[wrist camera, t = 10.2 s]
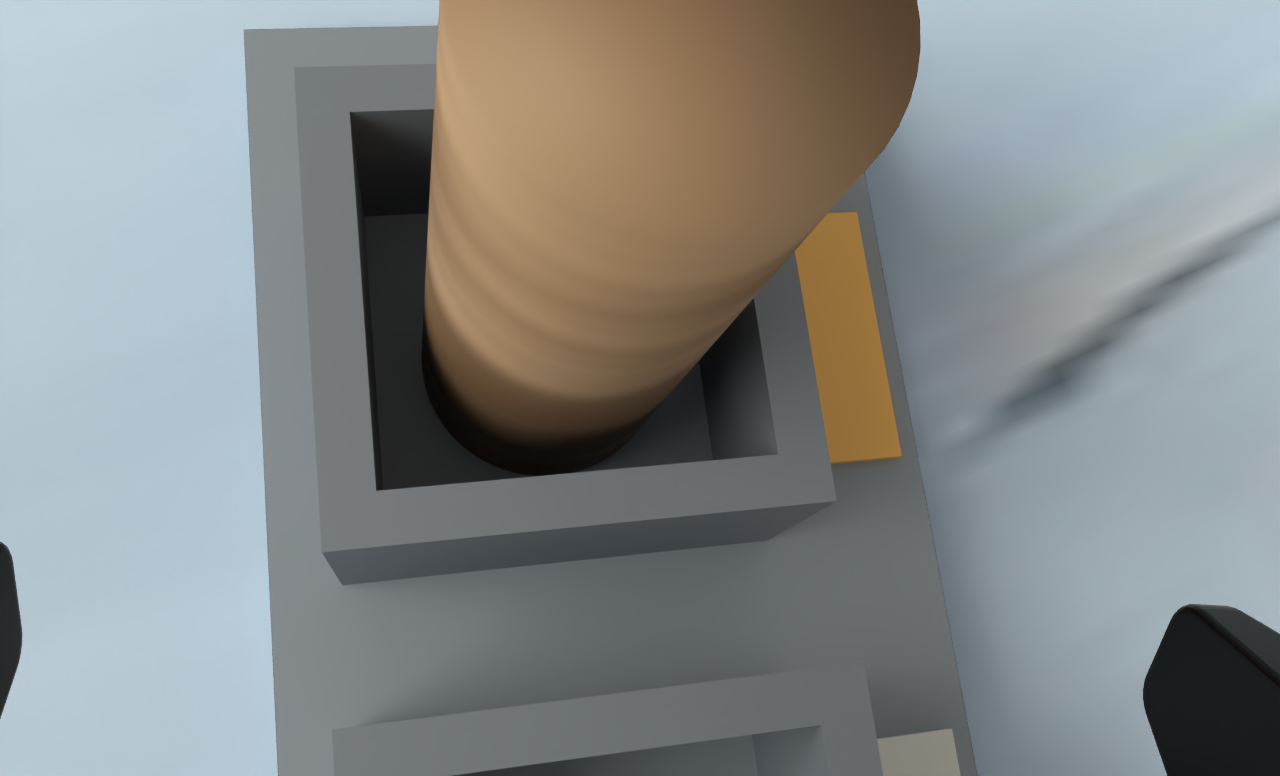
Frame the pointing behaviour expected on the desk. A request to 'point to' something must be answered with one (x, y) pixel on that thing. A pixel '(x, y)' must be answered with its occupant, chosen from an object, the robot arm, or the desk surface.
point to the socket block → (573, 498)
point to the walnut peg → (629, 196)
